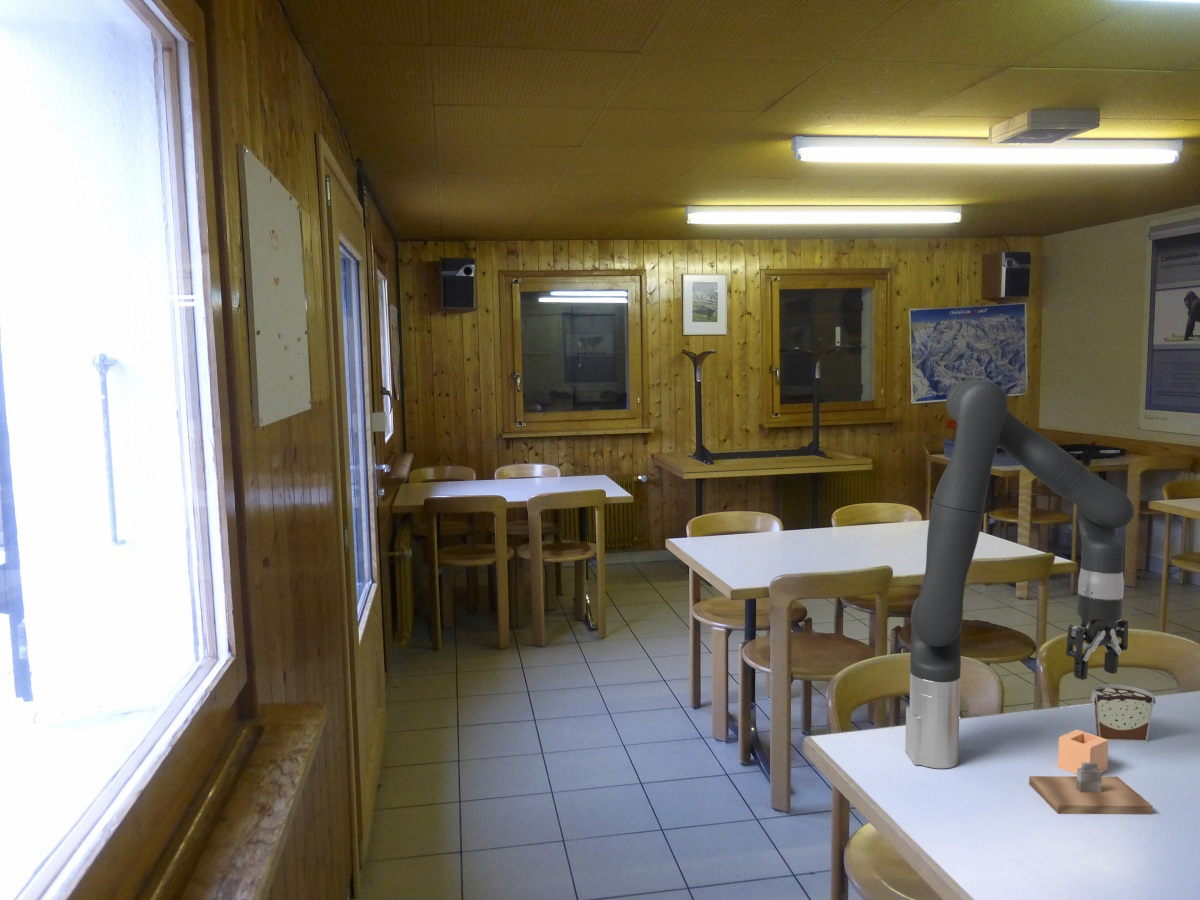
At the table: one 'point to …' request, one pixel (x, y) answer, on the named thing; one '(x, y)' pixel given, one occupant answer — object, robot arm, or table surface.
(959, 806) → the table surface
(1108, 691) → the food container
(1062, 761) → the orange open box
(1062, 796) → the base board
